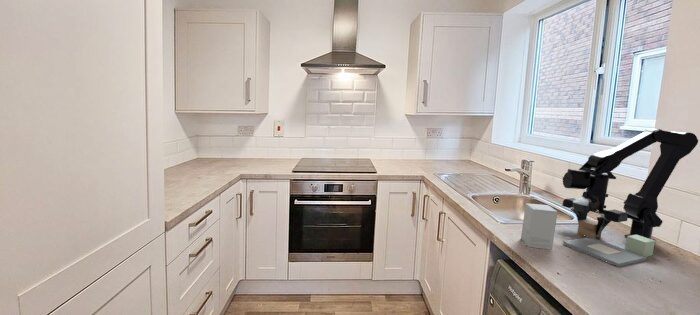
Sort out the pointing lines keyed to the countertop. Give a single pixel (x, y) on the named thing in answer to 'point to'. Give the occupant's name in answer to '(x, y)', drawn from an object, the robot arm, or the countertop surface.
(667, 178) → the robot arm
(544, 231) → the supplement box
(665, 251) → the countertop surface
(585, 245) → the plate
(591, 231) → the walnut block
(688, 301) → the countertop surface
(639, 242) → the sage block
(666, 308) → the countertop surface
